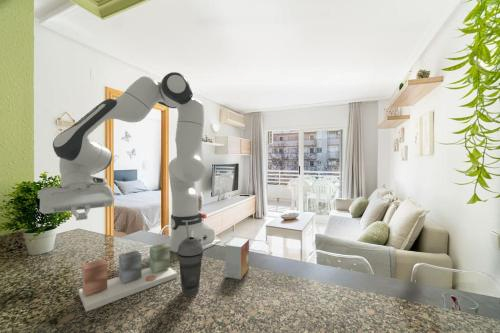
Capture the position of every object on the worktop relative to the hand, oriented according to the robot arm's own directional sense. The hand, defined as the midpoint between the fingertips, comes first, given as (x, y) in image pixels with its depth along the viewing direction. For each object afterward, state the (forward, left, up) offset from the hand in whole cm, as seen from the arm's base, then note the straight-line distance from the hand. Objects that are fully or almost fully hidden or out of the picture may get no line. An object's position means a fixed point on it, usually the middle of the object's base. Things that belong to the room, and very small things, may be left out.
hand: (82, 218), depth 75 cm
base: (-9, +19, -18) cm, 27 cm away
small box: (-37, +35, -18) cm, 54 cm away
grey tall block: (-9, +18, -16) cm, 26 cm away
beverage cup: (-20, +34, -18) cm, 43 cm away
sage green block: (-18, +18, -16) cm, 30 cm away
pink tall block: (0, +18, -16) cm, 24 cm away
